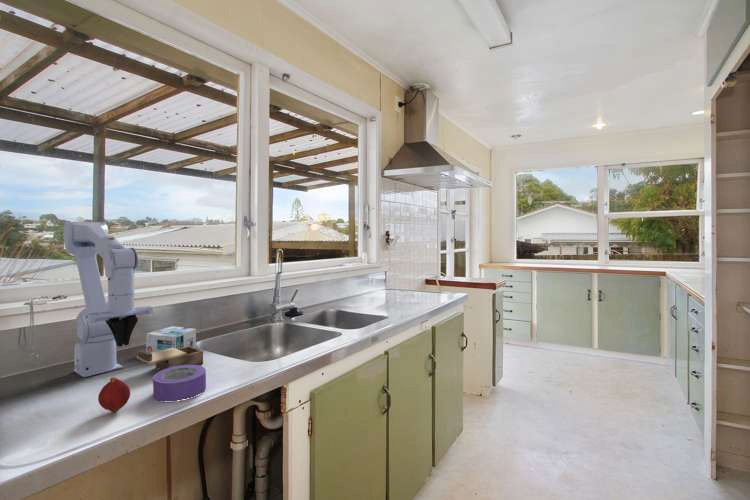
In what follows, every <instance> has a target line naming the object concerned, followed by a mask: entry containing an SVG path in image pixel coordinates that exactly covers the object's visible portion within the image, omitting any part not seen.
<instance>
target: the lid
mask: <svg viewBox="0 0 750 500" xmlns="http://www.w3.org/2000/svg"><path fill="white" fill-rule="evenodd" d="M184 355H187V353H186V352H183V351H181V350H178V349H175V348H169V349H165V350H161V351H156V352H152V353H149V352H146V350H144V349H140V350H138V355H137V356H136V359H137V360H140V361H142V362H144V363H147V364H149V365H153V364H156V363H157V362H161V361H165V360H169V359H173V358H177V357H180V356H184Z"/></svg>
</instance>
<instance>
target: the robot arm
mask: <svg viewBox="0 0 750 500" xmlns="http://www.w3.org/2000/svg"><path fill="white" fill-rule="evenodd" d="M62 237H63V242H64V246H65V249H66V252H67V253H68V254H71V255H73V256H74V260H75V263H76V266H77V271H78V275H79V280H80V284H81V289H82V294H83V298H84V302H85V308H84V309H82V310H81V311H80V312H78V314H77V316H76V318H75V321H76V332H77V337H78V338H79V339H80V340H81V341H82V342H81V341H80V342H77V343H75V345H74V349H73V357H74V358H73V360H74V362H73V363H74V369H73V371H74V372H75V373H76V374H78V375H79V376H81V377H82V378H87V377H90V376H94V375H99V374H102V373H105V372H110V371H115V370H118V369H121V368H123V365H121V364H119V363H117V347H123V345H124V346H129V343H130V339H131V336H132V333H133V331H134V328H135V326H136V325H137V323H139V321H138V320H139V317H137V316H142V315H143V316H144V315H152V314H153V312H154V311H153V310H154V309H153V306H151V305H147V306H137V307H135V270H136V268H137V266H138V263H139V256H138V252H137V251H136V249H135V248H134V247H125V246H124V245H123V243H121V242H120V240H118V239H117V238H116V237H115V236H114V235H109V227H108V225H107V223H105V222H104V221H99V222H98V221H71V220H67V221H66V222H65V223H64V224H63V228H62ZM97 255H99V256H100V257H101V259H102V262H103V267H104V273H105V277H106V278H107V294H108V295H107V300H108V301H106V296H105V292H104V286H103V283H102V279H101V274H100V271H99V270H100V269H99V265H98V261H97Z"/></svg>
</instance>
